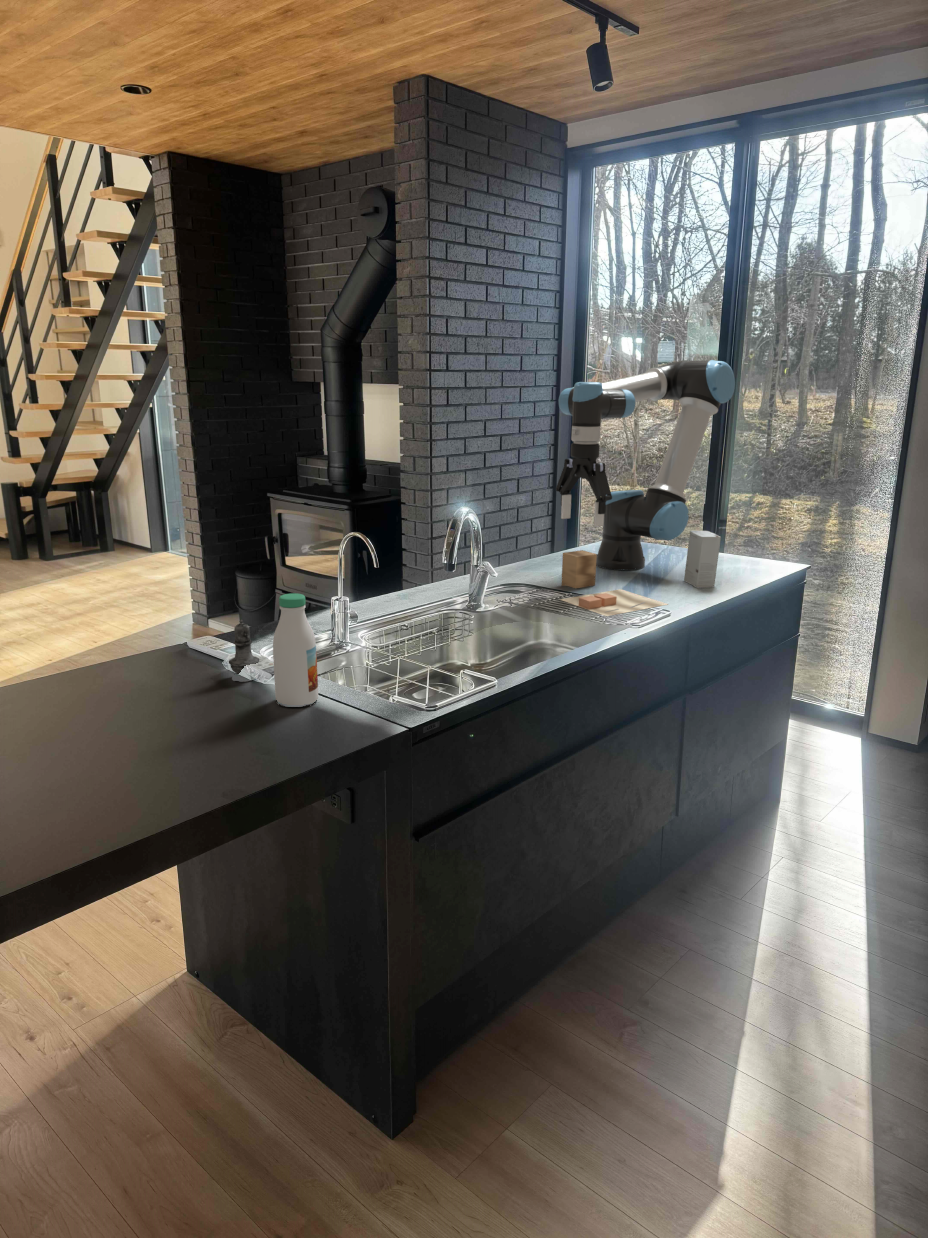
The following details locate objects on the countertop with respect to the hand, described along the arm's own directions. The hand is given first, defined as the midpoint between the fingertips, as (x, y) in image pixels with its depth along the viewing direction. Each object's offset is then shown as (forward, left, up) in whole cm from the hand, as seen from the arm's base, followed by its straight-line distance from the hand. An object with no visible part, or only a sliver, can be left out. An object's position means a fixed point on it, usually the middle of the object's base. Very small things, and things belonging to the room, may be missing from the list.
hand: (581, 522), depth 235 cm
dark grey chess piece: (+102, +21, -19) cm, 106 cm away
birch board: (+4, +19, -19) cm, 27 cm away
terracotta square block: (+7, +19, -17) cm, 27 cm away
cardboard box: (0, 0, -19) cm, 19 cm away
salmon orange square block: (+12, +19, -17) cm, 28 cm away
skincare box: (-33, +14, -19) cm, 40 cm away
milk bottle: (+98, +38, -19) cm, 107 cm away
